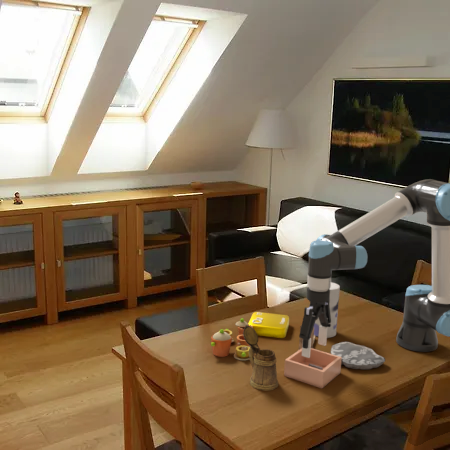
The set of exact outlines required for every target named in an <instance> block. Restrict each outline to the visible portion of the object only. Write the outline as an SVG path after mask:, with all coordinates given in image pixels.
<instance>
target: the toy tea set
mask: <svg viewBox="0 0 450 450" xmlns="http://www.w3.org/2000/svg"><path fill="white" fill-rule="evenodd" d="M239 319H240V320H239V321H236V323H235V326H236V327H237V331H238V332H237V333H238V335H237V336H236V343H237V346H236V347H235V352H234V354H233V358H234V359H235V360H238V361H245V362H246V361H250V359H249V349H250V347H251V346H250V345H249V344H247V342H246V341H245V339H244V336H243V331H244V328H245V326H246V325H248V326H251V327H252V325H250V324H248V323H249V322H247V321H245V319H244V318H239ZM252 328H253V327H252ZM210 340H211V343H210V347H212V349H211V350H212V354H213V356H215V357H220V358H223V357H224V358H225V357H227V356H229V354H230V351H231V345H232V343H234V342H235V340H234V337H233V331H232V330H230V329H229V328H225V329H223V328H222V329H219V331H218V332H215V333H214V334H212V335H211V337H210Z"/></svg>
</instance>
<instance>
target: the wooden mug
mask: <svg viewBox="0 0 450 450" xmlns="http://www.w3.org/2000/svg"><path fill="white" fill-rule="evenodd" d="M243 336H244V339H245V341H246V342H247V344H249V345H250V349H249V362H250V364H251V367H252V373H251V376H250V379H249V385H250V386H251V387H252V388H255V389H257V390H258V391H259V390H260V391H273V390H275V389H277V388H278V387H279V381H278V372H277V364H276V363H277V357H276V352H275V351H273V350H271V349H261V348H260V347H259V345H258V342H259V335H257V333H256V331H255V330H254V329H253V328H252V327H251V326H248V325H246V326H245V328H244V331H243Z"/></svg>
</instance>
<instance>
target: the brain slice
mask: <svg viewBox="0 0 450 450" xmlns="http://www.w3.org/2000/svg"><path fill="white" fill-rule="evenodd" d="M330 354H333V355H336V356H340V357H342V360H341V365H344V367H346V368H349V369H353V370H372V369H373V368H379V367H380V366H382V365H383V364H384V363H385V362H386V358H385V357H383V356H382V355H379V354H377V353H376V352H375V351H374V350H373V349H372V348H370V347H367V346H365V345H360V344H355V343H353V342H350V341H341V342H339V343H335V344H333V345H331V348H330Z"/></svg>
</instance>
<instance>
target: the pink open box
mask: <svg viewBox="0 0 450 450" xmlns="http://www.w3.org/2000/svg"><path fill="white" fill-rule="evenodd" d="M341 360H342V357H340V356H336V355H333V354H331V352H326V351H322V350H320V349H316V348H314V347H313V348H311V351H310V358H307V357H304V356H302V348H301V349H300V350H299V349H298V350H297V351H296V352H294V353H293V354H291V355H290V356H289V357H287V358H285V359H284V371H283V372H284V373H283V376H284V377H286V378H289V379H292V380H295V381H298V382H302V383H305V384H308V385H310V386H312V387H317V388H319V389H323V388H325V386H327V385H328V384H329V383H331V381H333V380H334V379H335V378H336V377H337V376H338V375H340V374H341V371H342V370H341V368H342V364H341Z"/></svg>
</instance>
